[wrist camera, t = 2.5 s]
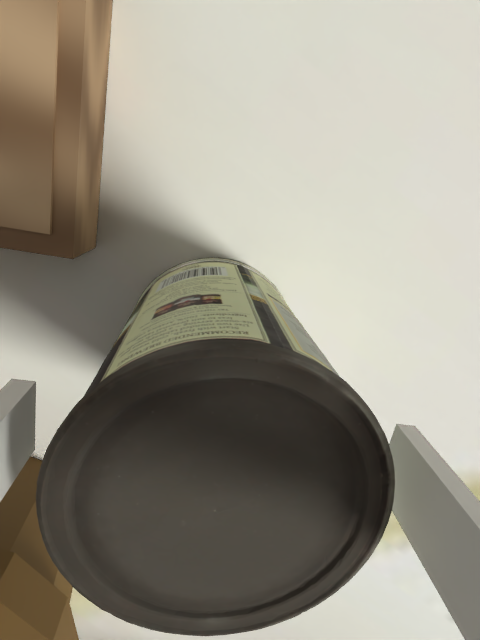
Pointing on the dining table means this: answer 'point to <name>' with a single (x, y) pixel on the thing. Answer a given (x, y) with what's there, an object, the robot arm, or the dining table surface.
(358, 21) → the dining table surface
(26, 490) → the flowerpot
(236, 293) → the coffee can
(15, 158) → the walnut base
